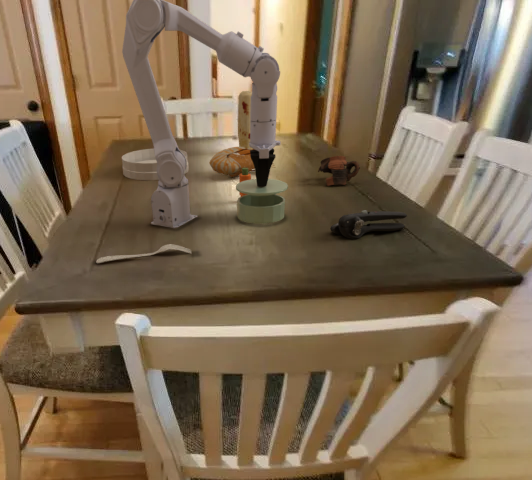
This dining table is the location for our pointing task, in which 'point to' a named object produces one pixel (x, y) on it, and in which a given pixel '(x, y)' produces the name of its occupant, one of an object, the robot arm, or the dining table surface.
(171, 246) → the fork
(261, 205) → the pot
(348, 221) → the can opener
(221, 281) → the dining table surface
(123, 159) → the dish
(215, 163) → the nautilus
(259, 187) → the lid
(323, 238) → the dining table surface
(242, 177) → the carrot
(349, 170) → the pottery mug
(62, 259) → the dining table surface
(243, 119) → the food model
